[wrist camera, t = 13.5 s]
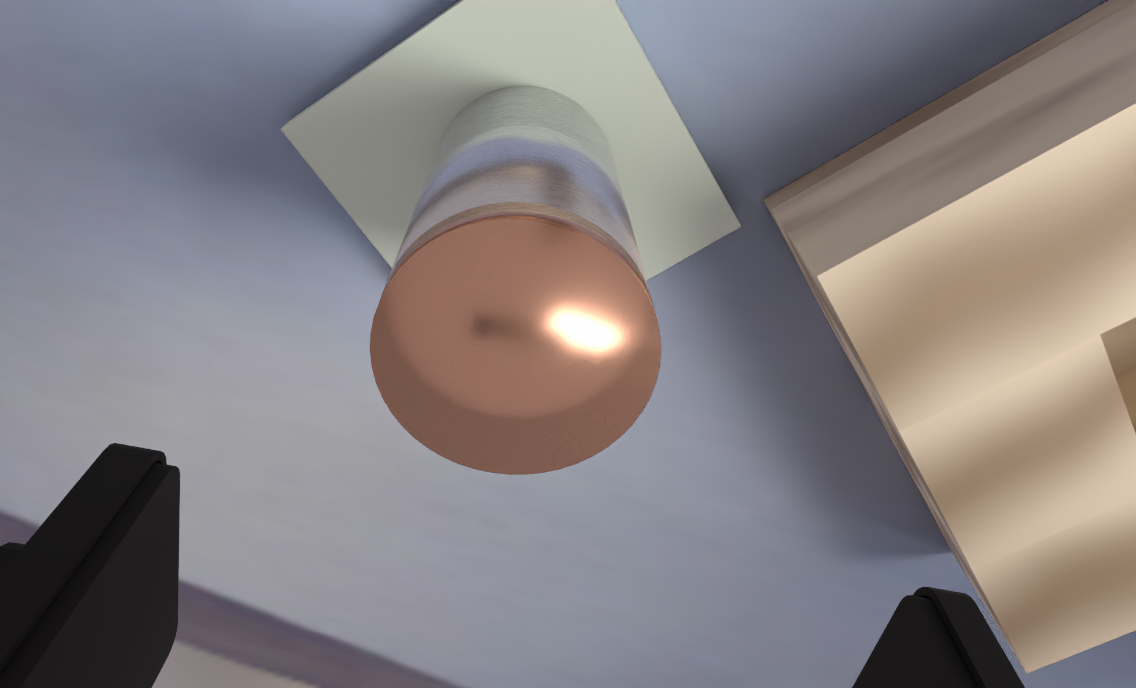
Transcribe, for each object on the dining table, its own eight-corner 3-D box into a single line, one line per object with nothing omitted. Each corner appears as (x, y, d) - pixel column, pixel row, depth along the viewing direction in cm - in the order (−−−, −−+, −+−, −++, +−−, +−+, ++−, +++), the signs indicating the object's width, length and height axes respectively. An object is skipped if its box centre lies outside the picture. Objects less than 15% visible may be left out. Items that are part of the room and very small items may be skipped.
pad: (734, 215, 27) (741, 226, 26) (480, 361, 29) (478, 376, 29) (570, -78, 23) (572, -76, 22) (288, 120, 25) (280, 128, 24)
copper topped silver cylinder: (647, 201, 26) (712, 392, 16) (502, 290, 27) (482, 515, 17) (550, 47, 24) (558, 161, 14) (398, 151, 25) (308, 322, 15)
